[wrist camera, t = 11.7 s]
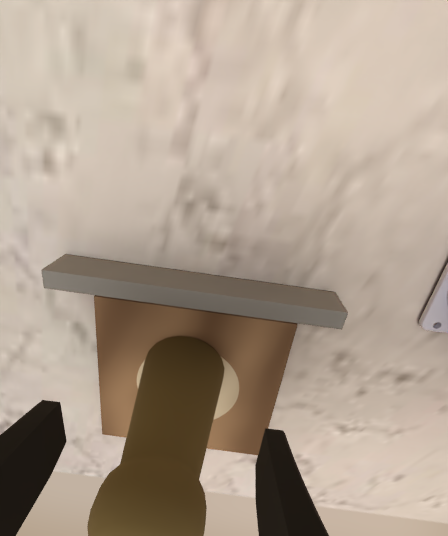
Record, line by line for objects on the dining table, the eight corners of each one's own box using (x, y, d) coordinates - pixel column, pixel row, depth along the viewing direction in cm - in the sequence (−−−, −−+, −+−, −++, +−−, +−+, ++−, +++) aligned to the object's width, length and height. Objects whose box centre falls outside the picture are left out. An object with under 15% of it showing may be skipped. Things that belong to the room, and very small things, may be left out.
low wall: (335, 292, 19) (347, 312, 17) (329, 307, 20) (341, 329, 17) (65, 254, 19) (41, 269, 17) (66, 270, 19) (43, 288, 17)
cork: (214, 405, 23) (194, 610, 13) (139, 388, 23) (60, 585, 13) (233, 347, 21) (228, 543, 11) (150, 327, 20) (64, 511, 10)
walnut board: (296, 320, 20) (297, 325, 20) (259, 449, 26) (260, 456, 25) (97, 292, 20) (93, 297, 19) (104, 428, 26) (101, 435, 25)
